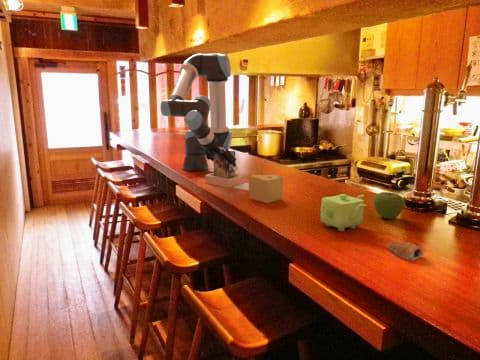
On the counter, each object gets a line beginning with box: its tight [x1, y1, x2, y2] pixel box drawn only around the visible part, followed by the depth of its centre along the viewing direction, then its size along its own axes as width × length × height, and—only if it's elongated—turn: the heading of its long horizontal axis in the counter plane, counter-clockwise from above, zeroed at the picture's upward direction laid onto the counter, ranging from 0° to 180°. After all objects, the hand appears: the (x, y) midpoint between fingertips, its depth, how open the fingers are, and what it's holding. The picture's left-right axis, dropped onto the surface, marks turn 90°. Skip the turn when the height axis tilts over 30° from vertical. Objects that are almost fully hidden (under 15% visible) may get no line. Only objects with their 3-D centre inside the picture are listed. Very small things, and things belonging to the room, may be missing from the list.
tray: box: [204, 172, 244, 188], centre depth 189 cm, size 12×15×4 cm
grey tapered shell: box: [387, 241, 424, 262], centre depth 108 cm, size 9×7×4 cm
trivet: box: [232, 182, 249, 192], centre depth 181 cm, size 11×11×1 cm
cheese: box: [248, 174, 284, 204], centre depth 161 cm, size 10×11×10 cm
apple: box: [372, 191, 407, 220], centre depth 139 cm, size 11×10×10 cm
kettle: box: [319, 193, 367, 232], centre depth 129 cm, size 15×14×11 cm
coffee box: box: [213, 150, 236, 179], centre depth 188 cm, size 9×6×16 cm
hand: (228, 168), depth 190 cm, fingers closed on coffee box, 10 cm apart
